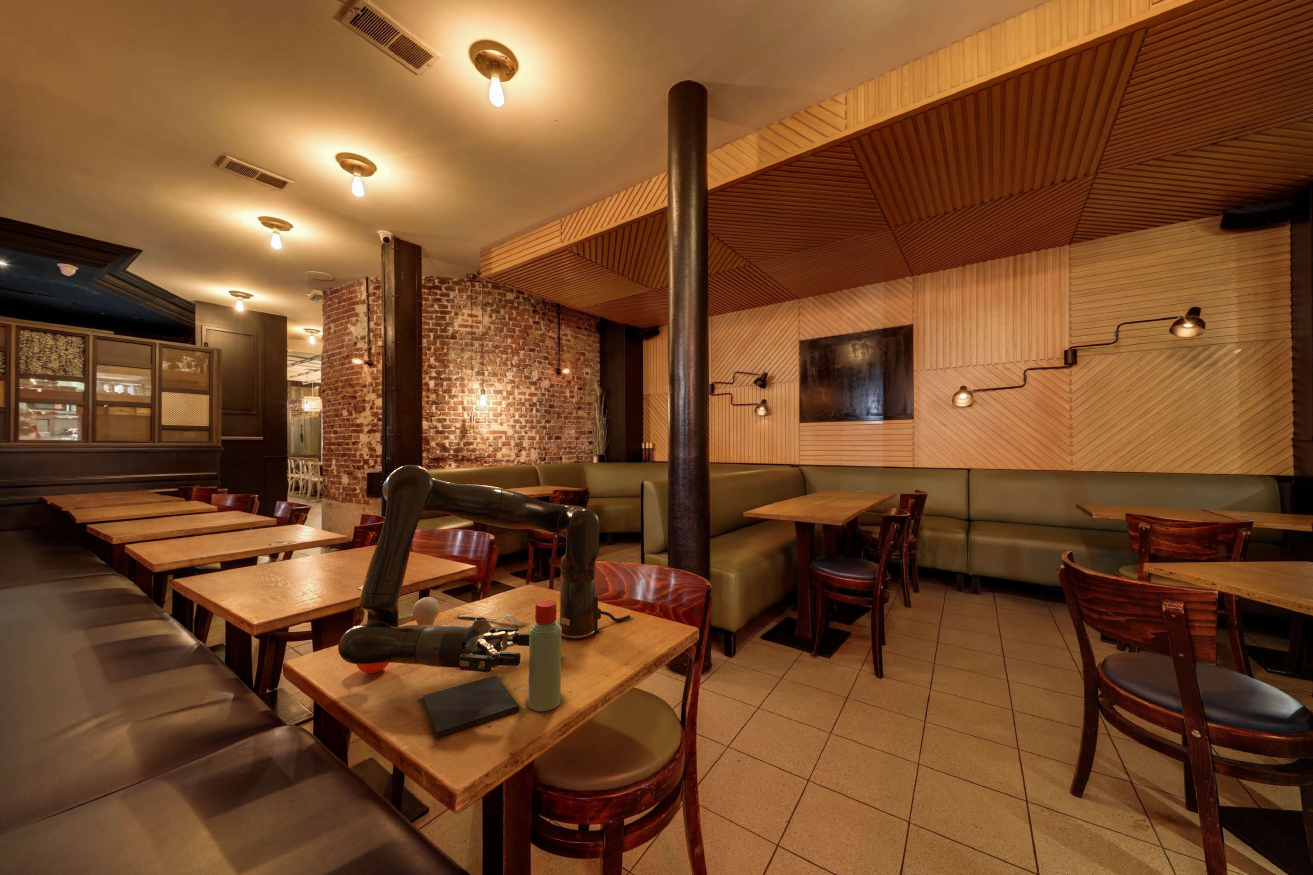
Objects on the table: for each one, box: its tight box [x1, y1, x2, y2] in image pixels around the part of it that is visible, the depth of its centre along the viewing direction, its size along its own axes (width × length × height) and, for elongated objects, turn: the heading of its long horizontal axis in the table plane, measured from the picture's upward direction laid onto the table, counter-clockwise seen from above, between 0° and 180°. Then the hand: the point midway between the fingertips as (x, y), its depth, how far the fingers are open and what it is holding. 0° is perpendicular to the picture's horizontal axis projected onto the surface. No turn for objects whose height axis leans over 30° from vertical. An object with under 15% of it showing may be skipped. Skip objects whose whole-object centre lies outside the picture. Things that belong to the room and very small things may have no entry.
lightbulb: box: [411, 596, 441, 626], centre depth 115 cm, size 6×6×11 cm
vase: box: [471, 616, 493, 635], centre depth 107 cm, size 7×7×9 cm
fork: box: [458, 613, 525, 628], centre depth 129 cm, size 3×21×3 cm, turn 72°
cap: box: [534, 599, 557, 624], centre depth 89 cm, size 4×4×3 cm
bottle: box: [527, 620, 562, 712], centre depth 88 cm, size 6×6×18 cm
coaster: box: [422, 674, 520, 739], centre depth 87 cm, size 14×14×1 cm
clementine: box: [355, 663, 389, 674], centre depth 99 cm, size 8×7×7 cm
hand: (528, 649), depth 89 cm, fingers open, 8 cm apart
